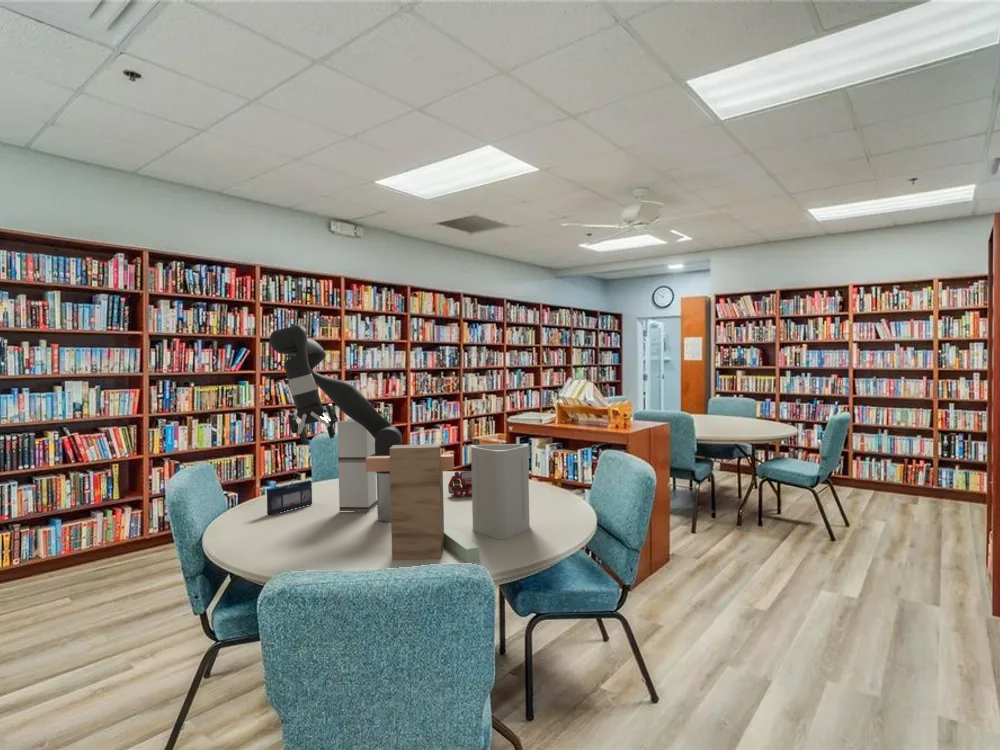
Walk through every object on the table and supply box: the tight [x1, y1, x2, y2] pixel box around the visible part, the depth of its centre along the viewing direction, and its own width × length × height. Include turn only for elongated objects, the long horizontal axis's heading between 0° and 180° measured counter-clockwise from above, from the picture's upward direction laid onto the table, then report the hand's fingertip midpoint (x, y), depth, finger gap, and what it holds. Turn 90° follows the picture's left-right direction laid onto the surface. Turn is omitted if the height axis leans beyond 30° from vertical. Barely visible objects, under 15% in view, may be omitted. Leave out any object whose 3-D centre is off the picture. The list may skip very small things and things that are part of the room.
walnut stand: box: [390, 443, 445, 561], centre depth 160 cm, size 12×14×32 cm
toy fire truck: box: [447, 470, 472, 498], centre depth 230 cm, size 7×12×10 cm, turn 105°
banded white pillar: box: [336, 418, 377, 513], centre depth 211 cm, size 11×11×35 cm
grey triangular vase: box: [470, 443, 530, 540], centre depth 178 cm, size 19×15×28 cm
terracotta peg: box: [366, 453, 455, 473], centre depth 163 cm, size 4×26×4 cm, turn 91°
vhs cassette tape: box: [266, 480, 313, 516], centre depth 212 cm, size 18×3×10 cm, turn 143°
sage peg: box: [444, 528, 481, 563], centre depth 161 cm, size 20×4×4 cm, turn 27°
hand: (319, 441), depth 167 cm, fingers open, 8 cm apart
